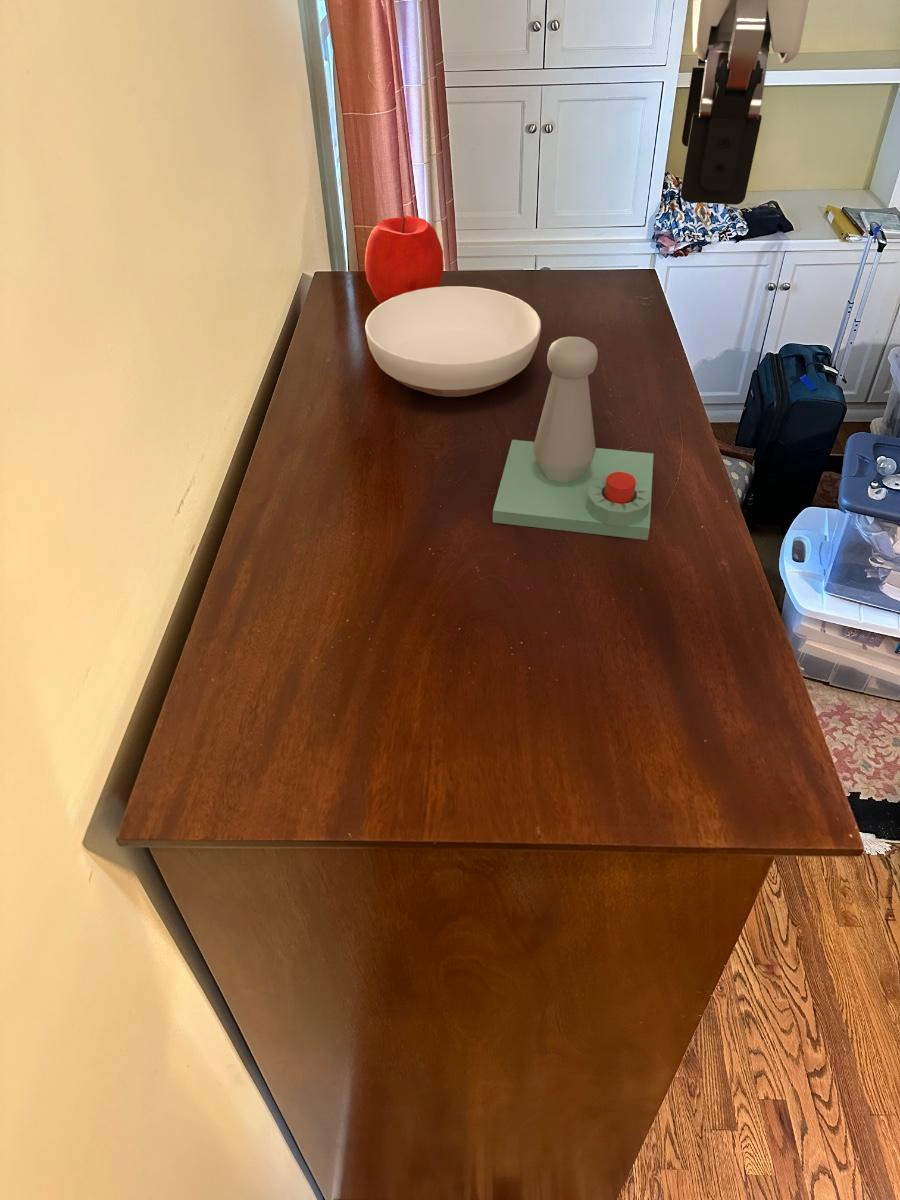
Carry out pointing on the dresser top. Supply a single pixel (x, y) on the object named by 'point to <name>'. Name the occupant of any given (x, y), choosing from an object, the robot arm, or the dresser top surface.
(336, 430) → the dresser top surface
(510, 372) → the bowl
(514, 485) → the green flat block
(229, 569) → the dresser top surface
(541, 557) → the dresser top surface
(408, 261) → the apple
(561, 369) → the salt shaker
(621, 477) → the button
